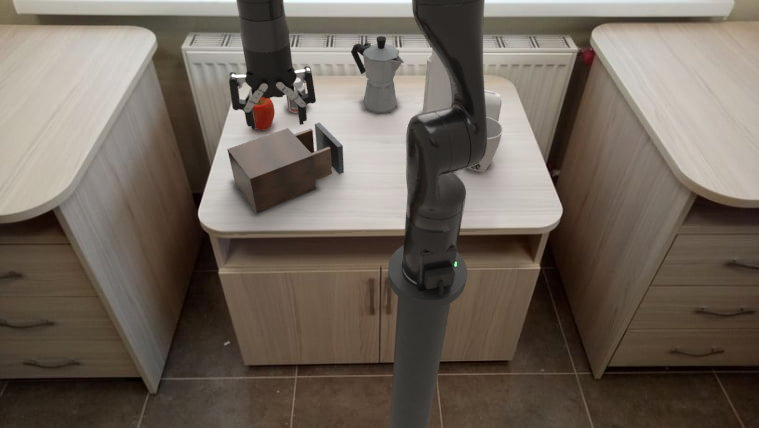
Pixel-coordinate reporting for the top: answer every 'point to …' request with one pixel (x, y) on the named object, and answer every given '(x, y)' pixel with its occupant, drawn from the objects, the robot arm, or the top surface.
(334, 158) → the drawer
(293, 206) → the top surface
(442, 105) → the vase
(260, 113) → the apple
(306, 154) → the cabinet
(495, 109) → the photo printer
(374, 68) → the coffee maker
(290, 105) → the pill bottle
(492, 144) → the cup
